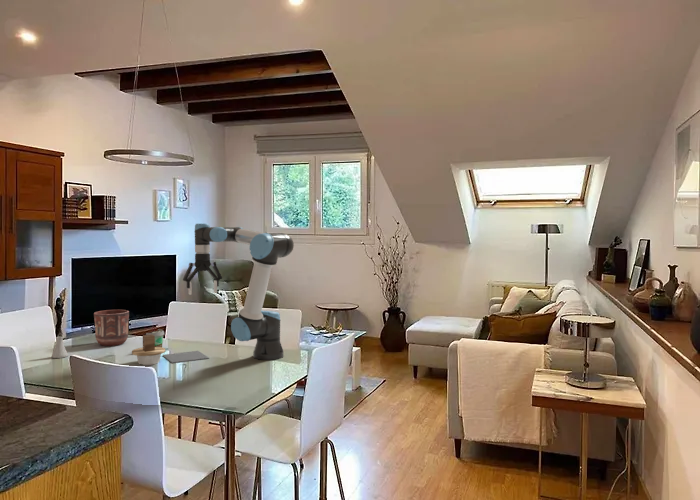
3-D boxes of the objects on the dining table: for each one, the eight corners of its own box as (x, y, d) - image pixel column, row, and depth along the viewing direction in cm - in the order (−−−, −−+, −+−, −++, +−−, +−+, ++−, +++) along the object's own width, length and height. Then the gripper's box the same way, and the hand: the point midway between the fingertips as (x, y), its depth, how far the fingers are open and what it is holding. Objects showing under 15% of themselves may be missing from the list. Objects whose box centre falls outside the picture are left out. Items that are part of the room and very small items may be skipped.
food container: (156, 352, 280) (156, 333, 280) (145, 352, 281) (145, 333, 281) (168, 347, 292) (168, 329, 292) (158, 347, 293) (158, 328, 293)
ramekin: (153, 359, 267) (153, 348, 267) (166, 362, 260) (165, 351, 260) (131, 363, 258) (131, 352, 258) (144, 367, 251) (144, 356, 251)
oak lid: (168, 353, 257) (168, 336, 256) (135, 357, 249) (135, 340, 248) (160, 347, 269) (160, 331, 269) (128, 351, 261) (128, 334, 261)
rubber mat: (209, 358, 268) (209, 357, 268) (172, 363, 258) (172, 362, 258) (197, 351, 283) (197, 350, 283) (162, 355, 273) (162, 354, 273)
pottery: (118, 339, 313) (117, 308, 312) (135, 343, 303) (135, 311, 302) (88, 344, 298) (87, 312, 298) (105, 349, 288) (104, 315, 287)
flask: (71, 356, 272) (71, 336, 271) (58, 359, 265) (57, 339, 265) (61, 354, 275) (61, 335, 274) (48, 357, 268) (47, 337, 268)
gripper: (222, 252, 292) (222, 291, 293) (176, 253, 278) (176, 294, 278) (227, 252, 286) (228, 292, 287) (180, 253, 272) (181, 296, 272)
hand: (202, 293), depth 283 cm, fingers open, 13 cm apart
